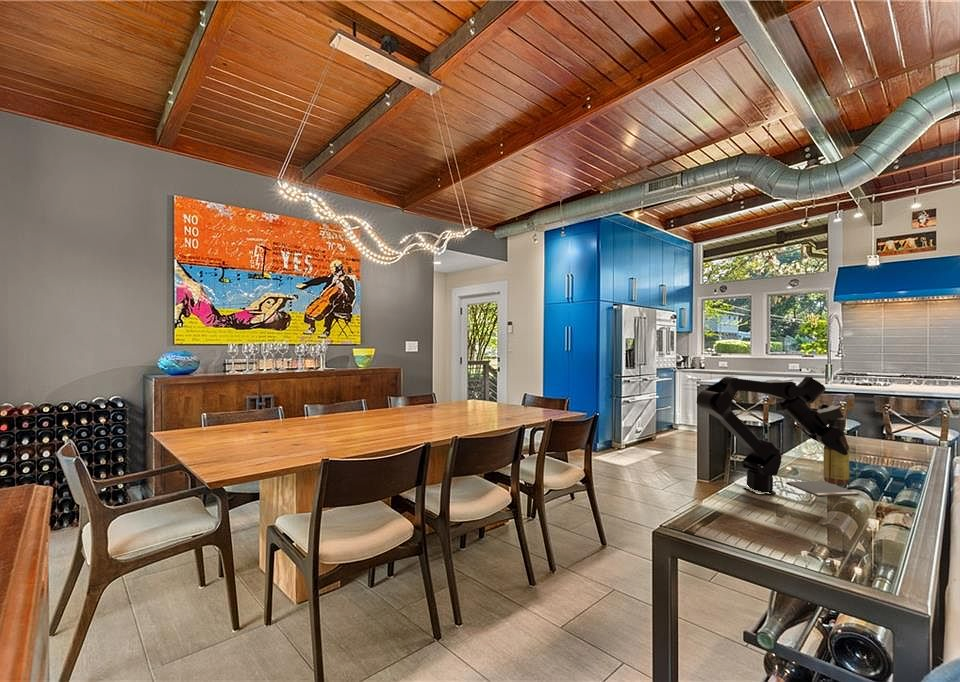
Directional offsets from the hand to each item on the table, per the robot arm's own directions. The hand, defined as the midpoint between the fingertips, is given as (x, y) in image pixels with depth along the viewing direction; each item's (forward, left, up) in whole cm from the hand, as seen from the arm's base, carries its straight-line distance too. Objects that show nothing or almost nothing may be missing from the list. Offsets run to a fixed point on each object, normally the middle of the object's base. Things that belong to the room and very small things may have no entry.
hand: (841, 451), depth 139 cm
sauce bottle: (-2, 0, -10) cm, 10 cm away
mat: (-2, +5, -13) cm, 14 cm away
